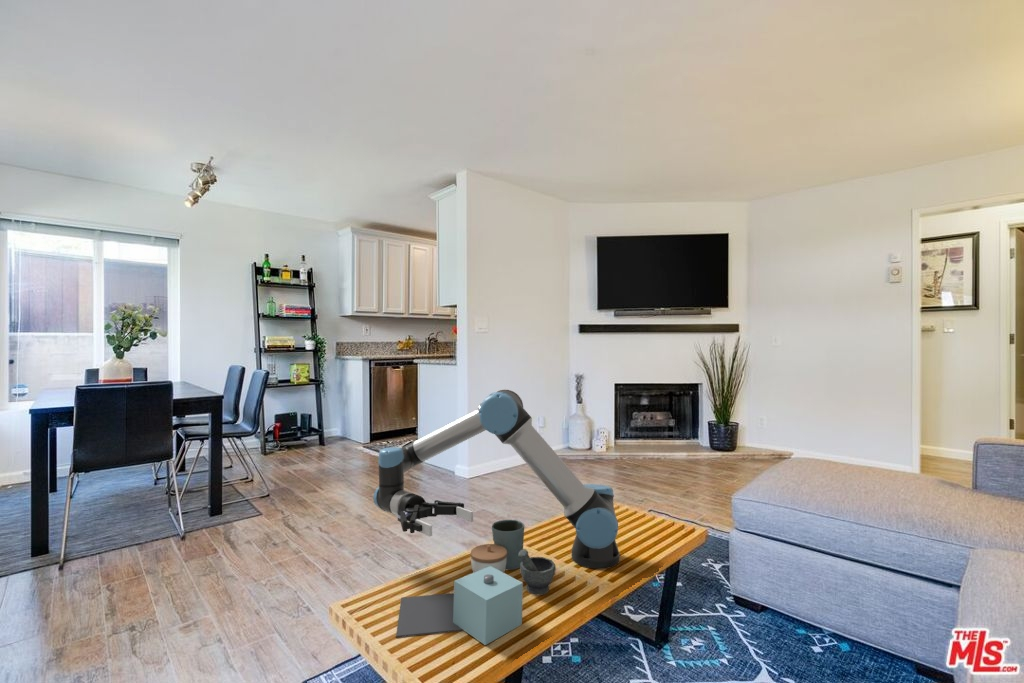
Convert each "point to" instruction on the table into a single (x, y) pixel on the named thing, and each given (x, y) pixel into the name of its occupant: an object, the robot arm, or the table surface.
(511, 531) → the grey green cylindrical pot
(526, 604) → the table surface
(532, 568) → the mortar and pestle
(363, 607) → the table surface
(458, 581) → the cover tub
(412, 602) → the rubber mat
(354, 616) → the table surface
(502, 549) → the lidded jar
